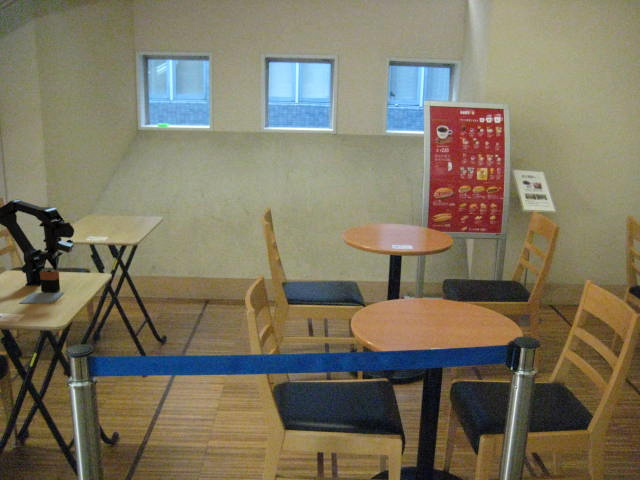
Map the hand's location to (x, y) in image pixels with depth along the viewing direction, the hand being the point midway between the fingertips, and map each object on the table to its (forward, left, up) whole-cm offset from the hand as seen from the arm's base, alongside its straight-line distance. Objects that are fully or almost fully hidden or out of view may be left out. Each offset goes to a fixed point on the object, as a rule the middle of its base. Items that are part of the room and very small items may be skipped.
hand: (55, 269), depth 264 cm
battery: (0, -8, -8) cm, 11 cm away
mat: (0, -16, -8) cm, 18 cm away
